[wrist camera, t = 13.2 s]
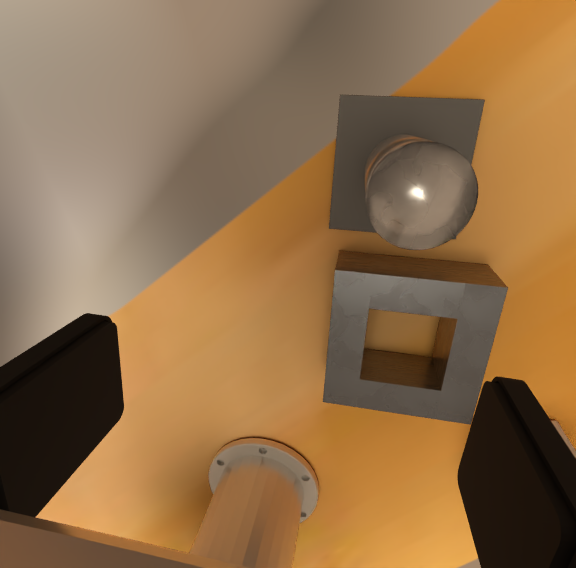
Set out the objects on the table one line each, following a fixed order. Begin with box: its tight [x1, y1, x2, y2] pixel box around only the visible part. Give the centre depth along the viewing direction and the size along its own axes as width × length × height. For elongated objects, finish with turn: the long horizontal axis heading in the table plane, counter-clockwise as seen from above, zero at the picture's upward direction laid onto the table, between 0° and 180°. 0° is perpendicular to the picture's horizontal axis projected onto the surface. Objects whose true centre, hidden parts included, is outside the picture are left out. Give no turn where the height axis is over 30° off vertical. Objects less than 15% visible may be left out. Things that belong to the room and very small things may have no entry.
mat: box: [329, 95, 485, 239], centre depth 30 cm, size 10×10×1 cm
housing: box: [323, 251, 508, 424], centre depth 33 cm, size 12×12×5 cm
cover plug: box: [365, 134, 478, 250], centre depth 25 cm, size 5×5×12 cm
